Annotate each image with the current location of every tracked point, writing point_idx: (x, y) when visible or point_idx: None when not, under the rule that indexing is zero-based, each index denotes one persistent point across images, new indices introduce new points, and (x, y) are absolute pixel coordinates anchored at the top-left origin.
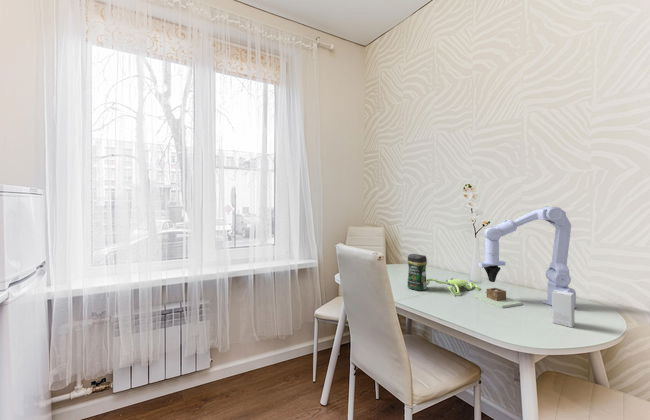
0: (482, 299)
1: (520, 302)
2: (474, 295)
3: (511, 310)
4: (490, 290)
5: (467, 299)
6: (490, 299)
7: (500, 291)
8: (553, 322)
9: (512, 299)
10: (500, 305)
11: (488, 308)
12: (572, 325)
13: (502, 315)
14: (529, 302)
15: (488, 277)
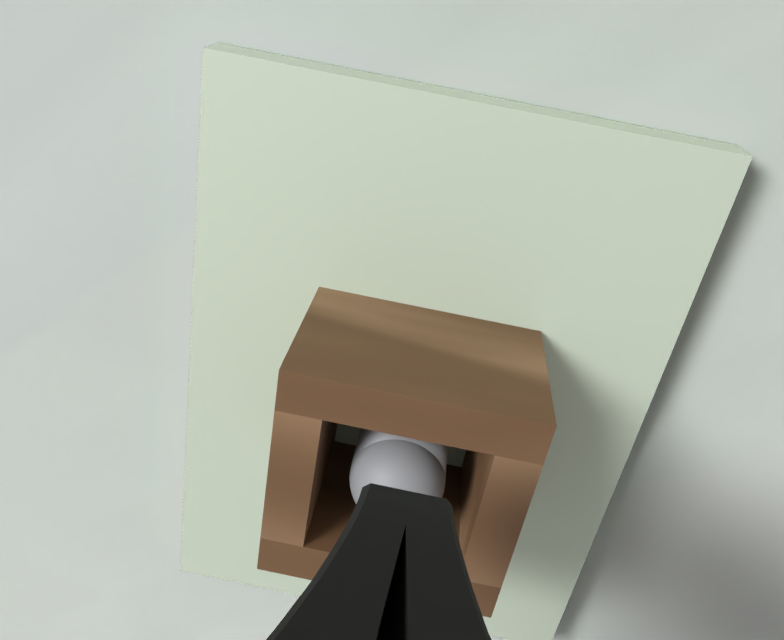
0: (199, 278)
1: (535, 636)
2: (203, 95)
3: (228, 623)
4: (272, 450)
5: (6, 88)
6: (273, 380)
7: None
8: None
9: (586, 542)
10: (181, 553)
11: (22, 473)
12: None
13: (5, 627)
14: (743, 635)
15: (332, 556)
